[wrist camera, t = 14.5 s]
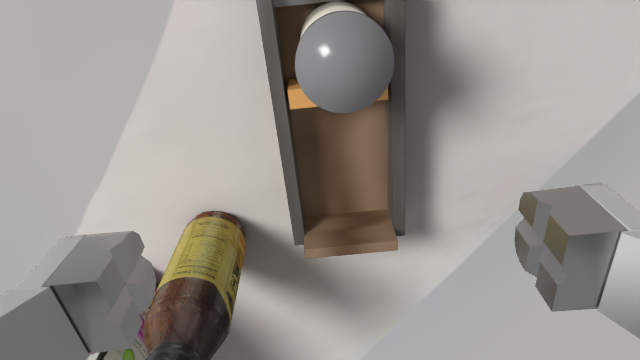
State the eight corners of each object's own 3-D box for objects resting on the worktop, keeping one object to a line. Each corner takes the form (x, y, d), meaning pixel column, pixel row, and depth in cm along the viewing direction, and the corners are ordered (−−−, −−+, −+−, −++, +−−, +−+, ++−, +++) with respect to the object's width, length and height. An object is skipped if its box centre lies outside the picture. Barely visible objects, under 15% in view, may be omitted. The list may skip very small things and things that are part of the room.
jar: (377, -2, 31) (400, 15, 23) (369, 76, 34) (387, 115, 26) (299, -6, 31) (296, 9, 23) (297, 73, 34) (293, 111, 26)
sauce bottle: (231, 265, 44) (180, 470, 27) (175, 241, 42) (83, 443, 25) (260, 222, 42) (225, 417, 24) (202, 194, 40) (120, 382, 22)
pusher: (381, 69, 33) (387, 79, 31) (382, 87, 34) (388, 99, 31) (289, 79, 33) (287, 90, 31) (291, 97, 34) (290, 109, 32)
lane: (394, -24, 31) (411, -19, 26) (396, 211, 41) (409, 249, 36) (261, -10, 31) (251, -2, 26) (296, 220, 42) (294, 259, 36)
